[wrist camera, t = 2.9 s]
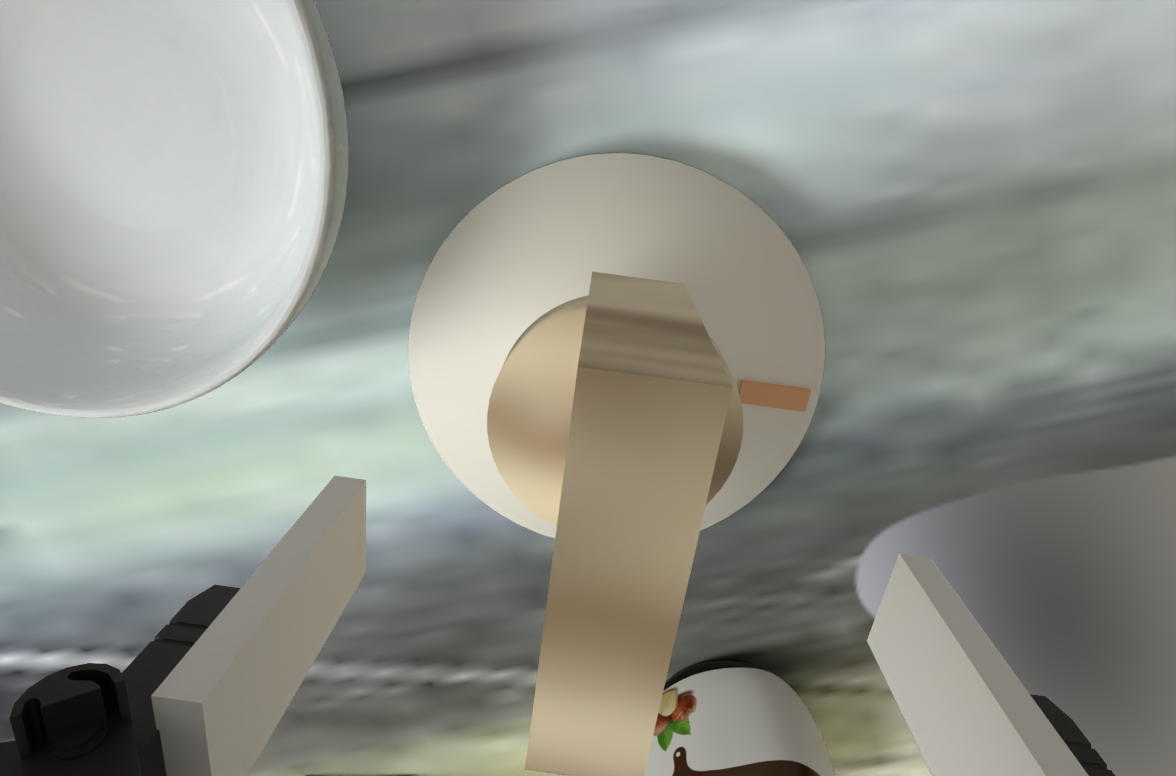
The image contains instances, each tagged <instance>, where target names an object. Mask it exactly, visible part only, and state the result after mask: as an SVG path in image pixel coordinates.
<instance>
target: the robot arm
mask: <svg viewBox="0 0 1176 776" xmlns="http://www.w3.org/2000/svg"><path fill="white" fill-rule="evenodd" d="M365 573H366V480H362V479H355V478H347V477H340V476H334V477H333V478H332V480H331V481H330V482H329V483H328V484H327V486H326V487H325V488H324V489H323V490H322V492H321V493H320V494H319V495H318V496H317V498H316V499H315V500H314V501H313V502H312V504H311V505H310V506H309V507H308V508H307V510H306V511H305V512H304V513H303V514H302V516H301V517H300V518H299V519H298V520H297V522H296V523H295V524H294V525H293V526H292V528H291V529H290V530H289V531H288V532H287V534H286V535H285V536H284V537H283V538H282V540H281V541H280V542H279V543H278V544H277V546H276V547H275V548H274V549H273V550H272V552H271V553H270V554H269V555H268V556H267V558H266V559H265V560H264V561H263V562H262V564H261V565H260V566H259V567H258V568H257V570H256V571H255V572H254V573H253V574H252V576H251V577H250V578H249V579H248V580H247V582H246V583H245V584H244V585H243V586H242V588H234V587H227V586H220V585H214V586H212V587H210V588H209V589H207V590H206V591H204V592H202V593H201V594H199V595H197V596H196V597H194V598H192V599H191V600H189V601H188V602H187V603H186V604H185V605H184V606H183V607H182V608H181V610H180V611H179V612H178V613H177V614H176V615H175V616H174V617H173V618H172V619H171V620H170V624H169V625H166V626H165V627H164V628H163V629H162V630H161V631H160V632H159V633H158V634H157V636H156V637H155V640H154V641H153V642H152V641H151V642H150V643H149V644H148V645H147V646H146V647H145V649H144V650H143V651H142V652H141V653H140V654H139V655H138V656H137V657H136V658H135V659H134V661H133V662H132V663H131V664H130V665H129V666H128V667H127V668H126V669H125V670H124V671H123V672H122V674H121V672H120V670H119V669H116V668H114V667H112V666H110V665H107V664H94V663H88V664H83V665H78V666H73V667H68V668H65V669H63V670H61V671H58V672H56V673H53V674H51V675H49V676H46V677H45V678H43V679H42V680H40V681H39V682H37V683H36V684H34V685H33V686H31V687H30V688H28V689H27V690H26V691H25V693H24V694H23V695H22V696H21V697H20V698H19V699H18V700H17V701H16V702H15V704H14V706H13V709H12V712H11V715H10V722H11V725H12V729H13V733H14V736H15V740H16V741H10V742H3V743H0V776H248V774H249V773H250V771H251V769H252V768H253V766H254V764H255V762H256V761H257V759H258V757H259V755H260V754H261V752H262V750H263V749H264V747H265V745H266V743H267V742H268V740H269V738H270V737H271V735H272V733H273V731H274V730H275V728H276V726H277V724H278V723H279V721H280V719H281V718H282V716H283V714H284V712H285V711H286V709H287V707H288V705H289V704H290V702H291V700H292V699H293V697H294V695H295V693H296V692H297V690H298V688H299V687H300V685H301V683H302V681H303V680H304V678H305V676H306V674H307V673H308V671H309V669H310V668H311V666H312V664H313V662H314V661H315V659H316V657H317V656H318V654H319V652H320V650H321V649H322V647H323V645H324V643H325V642H326V640H327V638H328V637H329V635H330V633H331V631H332V630H333V628H334V626H335V625H336V623H337V621H338V619H339V618H340V616H341V614H342V612H343V611H344V609H345V607H346V606H347V604H348V602H349V600H350V599H351V597H352V595H353V593H354V592H355V590H356V588H357V587H358V585H359V583H360V581H361V580H362V578H363V576H364V575H365ZM867 642H868V644H869V646H870V648H871V650H872V652H873V655H874V657H875V659H876V661H877V663H878V665H879V667H880V669H881V671H882V673H883V675H884V677H885V679H886V681H887V684H888V686H889V688H890V690H891V692H892V694H893V696H894V698H895V700H896V702H897V704H898V706H899V708H900V711H901V713H902V715H903V717H904V719H905V721H906V723H907V725H908V727H909V729H910V731H911V733H912V735H913V738H914V740H915V742H916V744H917V746H918V748H919V750H920V752H921V754H922V756H923V758H924V760H925V762H926V764H927V767H928V769H929V771H930V773H931V775H932V776H1115V775H1114V774H1113V772H1112V771H1111V770H1107V765H1106V763H1105V762H1104V761H1103V759H1102V758H1101V757H1100V755H1099V754H1098V753H1097V752H1096V750H1095V749H1092V748H1091V744H1090V742H1089V741H1088V740H1087V738H1086V737H1085V736H1084V735H1083V733H1082V732H1081V731H1080V729H1079V728H1078V727H1077V725H1076V724H1075V723H1074V721H1073V720H1072V719H1071V718H1069V716H1067V715H1066V714H1065V713H1063V711H1062V710H1060V709H1059V708H1058V707H1057V706H1055V704H1053V703H1052V702H1051V701H1050V700H1049V699H1048V698H1046V697H1045V696H1038V695H1030V694H1029V693H1028V691H1027V690H1026V689H1025V687H1024V686H1023V685H1022V683H1021V682H1020V680H1019V679H1018V678H1017V676H1016V675H1015V673H1014V672H1013V671H1012V669H1011V668H1010V667H1009V665H1008V664H1007V662H1006V661H1005V660H1004V658H1003V657H1002V656H1001V654H1000V653H999V651H998V650H997V649H996V647H995V646H994V645H993V643H992V642H991V640H990V639H989V638H988V636H987V635H986V634H985V632H984V631H983V629H982V628H981V627H980V625H979V624H978V623H977V621H976V620H975V618H974V617H973V616H972V614H971V613H970V611H969V610H968V609H967V607H966V606H965V604H964V603H963V602H962V600H961V599H960V598H959V596H958V595H957V593H956V592H955V591H954V590H953V588H952V587H951V585H950V584H949V582H948V581H947V580H946V578H945V577H944V576H943V574H942V573H941V571H940V570H939V569H938V567H937V566H936V565H935V563H934V562H933V560H932V559H931V558H930V557H924V556H917V555H909V554H902V553H899V555H898V558H897V561H896V563H895V566H894V569H893V571H892V574H891V577H890V580H889V582H888V585H887V588H886V591H885V593H884V596H883V599H882V601H881V604H880V607H879V610H878V612H877V615H876V617H875V620H874V623H873V626H872V628H871V631H870V634H869V636H868V639H867Z"/></svg>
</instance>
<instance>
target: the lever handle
mask: <svg viewBox="0 0 1176 776" xmlns="http://www.w3.org/2000/svg"><path fill="white" fill-rule="evenodd" d="M487 433H488V440H489V446H490V449H491V453H492V456H493V459H494V462H495V464H496V466H497V469H498V471H499V473H500V475H501V476H502V478H503V479H504V481H505V483H506V484H507V486H508V487H509V488H510V490H511V491H512V492H513V493H514V495H515V496H516V497H517V498H518V499H519V500H520V501H521V502H522V503H523V504H524V505H525V506H526V507H527V508H529V509H530V510H531V511H533V512H534V513H535V514H537V515H538V516H539V517H541V518H543V519H544V520H546V521H548V522H550V523H551V524H553V525H555V526H557V529H556V537H555V545H554V552H553V560H552V568H551V575H550V583H549V591H548V598H547V606H546V614H545V621H544V629H543V637H542V644H541V652H540V660H539V667H538V675H537V683H536V690H535V698H534V706H533V713H532V721H531V729H530V736H529V744H528V752H527V759H526V767H525V770H530V771H538V772H546V773H554V774H562V775H570V776H644V773H645V769H646V765H647V760H648V756H649V751H650V747H651V743H652V738H653V734H654V730H655V725H656V721H657V716H658V712H659V708H660V703H661V699H662V695H663V690H664V686H665V681H666V677H667V673H668V668H669V664H670V659H671V655H672V651H673V646H674V642H675V638H676V633H677V629H678V624H679V620H680V616H681V611H682V607H683V603H684V598H685V594H686V589H687V585H688V581H689V576H690V572H691V568H692V563H693V559H694V554H695V550H696V546H697V541H698V537H699V533H700V528H701V524H702V519H703V515H704V511H705V506H706V504H708V503H709V502H710V501H711V500H712V499H713V498H714V496H715V495H716V494H717V493H718V492H719V491H720V489H721V488H722V487H723V485H724V484H725V482H726V481H727V479H728V478H729V476H730V474H731V472H732V470H733V468H734V466H735V463H736V461H737V458H738V454H739V451H740V448H741V442H742V436H743V411H742V403H741V399H740V395H739V392H738V388H737V385H736V383H735V381H734V379H733V376H732V374H731V372H730V370H729V368H728V366H727V364H726V362H725V360H724V357H723V355H722V353H721V352H720V350H719V349H718V347H717V345H716V344H715V342H714V341H713V339H712V338H711V337H710V336H709V335H708V333H707V331H706V329H705V326H704V324H703V322H702V320H701V318H700V316H699V313H698V311H697V309H696V307H695V305H694V303H693V300H692V298H691V296H690V294H689V292H688V290H687V287H686V285H685V284H681V283H674V282H667V281H659V280H652V279H645V278H637V277H630V276H622V275H615V274H608V273H600V272H593V271H592V276H591V283H590V289H589V295H587V296H582V297H579V298H576V299H573V300H570V301H567V302H565V303H563V304H561V305H559V306H557V307H555V308H553V309H551V310H550V311H548V312H547V313H545V314H544V315H542V316H541V317H539V318H538V319H537V320H536V321H535V322H533V323H532V324H531V325H530V326H529V327H528V328H527V329H526V330H525V331H524V332H523V333H522V335H521V336H520V337H519V338H518V339H517V341H516V342H515V344H514V345H513V347H512V348H511V350H510V351H509V354H508V356H507V358H506V360H505V362H504V364H503V366H502V368H501V371H500V373H499V375H498V377H497V379H496V381H495V383H494V386H493V389H492V393H491V396H490V399H489V406H488V412H487Z"/></svg>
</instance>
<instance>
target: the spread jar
mask: <svg viewBox="0 0 1176 776" xmlns="http://www.w3.org/2000/svg"><path fill="white" fill-rule="evenodd" d="M644 776H836V774H835V772H834V769H833V766H832V763H831V760H830V757H829V754H828V751H827V749H826V746H825V744H824V741H823V738H822V736H821V734H820V732H819V729H818V727H817V725H816V723H815V721H814V719H813V717H812V715H811V714H810V712H809V710H808V709H807V707H806V706H805V704H804V703H803V701H802V700H801V698H800V697H799V696H798V695H797V693H796V692H795V691H794V690H793V689H792V688H791V687H790V686H789V685H788V684H787V683H786V682H785V681H784V680H782V679H781V678H780V677H779V676H777V675H776V674H774V673H773V672H771V671H770V670H768V669H766V668H763V667H761V666H758V665H755V664H752V663H747V662H742V661H729V660H721V661H709V662H704V663H700V664H696V665H693V666H691V667H688V668H686V669H684V670H682V671H680V672H678V673H677V674H675V675H674V676H672V677H671V678H670V679H668V680H667V681H666V682H665V686H664V690H663V695H662V699H661V703H660V708H659V712H658V716H657V721H656V725H655V730H654V734H653V738H652V743H651V747H650V751H649V756H648V760H647V765H646V769H645V773H644Z"/></svg>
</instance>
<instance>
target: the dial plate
mask: <svg viewBox="0 0 1176 776" xmlns="http://www.w3.org/2000/svg"><path fill="white" fill-rule="evenodd" d="M592 271H593V272H600V273H608V274H615V275H622V276H630V277H637V278H645V279H652V280H659V281H667V282H674V283H681V284H685V285H686V287H687V290H688V292H689V294H690V296H691V298H692V300H693V303H694V305H695V307H696V309H697V311H698V313H699V316H700V318H701V320H702V322H703V324H704V326H705V329H706V331H707V333H708V335H709V336H710V337H711V338H712V339H713V341H714V342H715V344H716V345H717V347H718V349H719V350H720V352H721V353H722V355H723V357H724V360H725V362H726V364H727V366H728V368H729V370H730V372H731V374H732V376H733V379H734V381H735V383H736V385H737V388H738V392H739V395H740V399H741V403H742V411H743V436H742V442H741V448H740V451H739V454H738V458H737V461H736V463H735V466H734V468H733V470H732V472H731V474H730V476H729V478H728V479H727V481H726V482H725V484H724V485H723V487H722V488H721V489H720V491H719V492H718V493H717V494H716V495H715V496H714V498H713V499H712V500H711V501H710V502H709V503H708V504H706V506H705V511H704V515H703V519H702V524H701V528H700V530H703V529H705V528H707V527H709V526H711V525H713V524H715V523H717V522H719V521H721V520H723V519H725V518H727V517H728V516H730V515H731V514H733V513H734V512H736V511H737V510H739V509H740V508H742V507H743V506H745V505H746V504H748V503H749V502H750V501H751V500H752V499H754V498H755V497H756V496H757V495H758V494H759V493H760V492H762V491H763V490H764V489H765V488H766V487H767V486H768V485H769V484H770V483H771V482H772V481H773V480H774V478H775V477H776V476H777V475H778V474H779V473H780V472H781V471H782V470H783V468H784V467H785V466H786V464H787V463H788V461H789V460H790V458H791V457H792V456H793V454H794V453H795V451H796V450H797V448H798V447H799V445H800V443H801V441H802V439H803V437H804V435H805V433H806V431H807V429H808V427H809V425H810V423H811V420H812V417H813V414H814V412H815V409H816V406H817V403H818V400H819V395H820V391H821V386H822V381H823V376H824V363H825V337H824V324H823V319H822V314H821V310H820V305H819V301H818V297H817V294H816V291H815V289H814V286H813V283H812V281H811V278H810V275H809V273H808V271H807V269H806V267H805V265H804V263H803V262H802V260H801V258H800V256H799V254H798V253H797V251H796V249H795V247H794V246H793V244H792V243H791V242H790V241H789V239H788V238H787V237H786V235H785V234H784V233H783V231H782V230H781V229H780V227H779V226H778V225H777V224H776V223H775V222H774V221H773V220H772V219H771V218H770V217H769V216H768V215H767V214H766V213H765V212H764V211H763V210H762V209H761V208H760V207H759V206H758V205H757V204H756V203H754V202H753V201H752V200H750V199H749V198H747V197H746V196H745V195H743V194H742V193H741V192H739V191H738V190H736V189H735V188H734V187H732V186H730V185H728V184H727V183H725V182H723V181H721V180H719V179H717V178H715V177H713V176H712V175H710V174H708V173H706V172H704V171H702V170H699V169H696V168H693V167H691V166H688V165H685V164H682V163H680V162H677V161H674V160H669V159H665V158H660V157H655V156H650V155H645V154H630V153H604V154H590V155H584V156H579V157H574V158H570V159H565V160H560V161H557V162H555V163H552V164H549V165H546V166H544V167H541V168H538V169H535V170H533V171H531V172H529V173H527V174H525V175H523V176H521V177H519V178H517V179H515V180H514V181H512V182H510V183H508V184H506V185H504V186H502V187H501V188H499V189H498V190H497V191H495V192H494V193H493V194H491V195H490V196H488V197H487V198H486V199H484V200H483V201H481V202H480V203H479V204H478V205H477V206H476V207H474V208H473V209H472V210H471V211H470V212H469V213H468V214H467V215H466V216H465V217H464V218H463V219H462V220H461V221H460V222H459V223H458V224H457V225H456V227H455V228H454V229H453V230H452V232H451V233H450V234H449V236H448V237H447V238H446V239H445V241H444V242H443V243H442V245H441V246H440V248H439V249H438V251H437V253H436V255H435V256H434V258H433V260H432V262H431V263H430V265H429V267H428V269H427V271H426V273H425V276H424V278H423V281H422V283H421V286H420V288H419V291H418V293H417V296H416V301H415V305H414V309H413V313H412V317H411V323H410V333H409V343H408V353H409V373H410V378H411V384H412V389H413V395H414V399H415V402H416V405H417V408H418V411H419V414H420V417H421V420H422V422H423V424H424V427H425V429H426V431H427V433H428V435H429V437H430V439H431V441H432V443H433V445H434V446H435V448H436V449H437V451H438V452H439V454H440V456H441V457H442V459H443V460H444V462H445V463H446V464H447V466H448V467H449V468H450V469H451V470H452V472H453V473H454V474H455V475H456V476H457V478H458V479H459V480H460V481H461V482H462V483H463V484H464V485H465V486H466V487H467V488H468V489H469V490H470V491H471V492H472V493H473V494H474V495H476V496H477V497H478V498H479V499H480V500H482V501H483V502H484V503H486V504H487V505H488V506H490V507H491V508H492V509H494V510H495V511H496V512H498V513H500V514H501V515H503V516H505V517H507V518H508V519H510V520H512V521H513V522H515V523H517V524H519V525H521V526H523V527H526V528H528V529H530V530H533V531H535V532H537V533H540V534H542V535H546V536H549V537H552V538H555V537H556V529H557V526H555V525H553V524H551V523H550V522H548V521H546V520H544V519H543V518H541V517H539V516H538V515H537V514H535V513H534V512H533V511H531V510H530V509H529V508H527V507H526V506H525V505H524V504H523V503H522V502H521V501H520V500H519V499H518V498H517V497H516V496H515V495H514V493H513V492H512V491H511V490H510V488H509V487H508V486H507V484H506V483H505V481H504V479H503V478H502V476H501V475H500V473H499V471H498V469H497V466H496V464H495V462H494V459H493V456H492V453H491V449H490V446H489V440H488V433H487V412H488V406H489V399H490V396H491V393H492V389H493V386H494V383H495V381H496V379H497V377H498V375H499V373H500V371H501V368H502V366H503V364H504V362H505V360H506V358H507V356H508V354H509V351H510V350H511V348H512V347H513V345H514V344H515V342H516V341H517V339H518V338H519V337H520V336H521V335H522V333H523V332H524V331H525V330H526V329H527V328H528V327H529V326H530V325H531V324H532V323H533V322H535V321H536V320H537V319H538V318H539V317H541V316H542V315H544V314H545V313H547V312H548V311H550V310H551V309H553V308H555V307H557V306H559V305H561V304H563V303H565V302H567V301H570V300H573V299H576V298H579V297H582V296H587V295H589V289H590V283H591V276H592Z"/></svg>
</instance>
